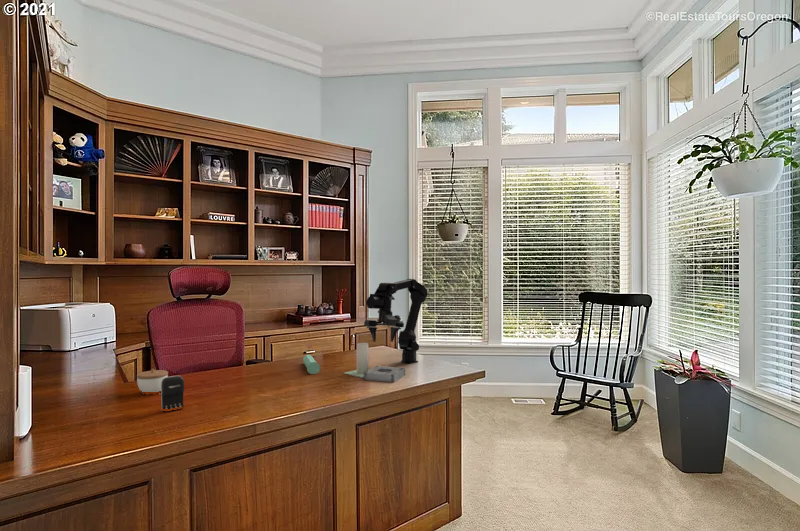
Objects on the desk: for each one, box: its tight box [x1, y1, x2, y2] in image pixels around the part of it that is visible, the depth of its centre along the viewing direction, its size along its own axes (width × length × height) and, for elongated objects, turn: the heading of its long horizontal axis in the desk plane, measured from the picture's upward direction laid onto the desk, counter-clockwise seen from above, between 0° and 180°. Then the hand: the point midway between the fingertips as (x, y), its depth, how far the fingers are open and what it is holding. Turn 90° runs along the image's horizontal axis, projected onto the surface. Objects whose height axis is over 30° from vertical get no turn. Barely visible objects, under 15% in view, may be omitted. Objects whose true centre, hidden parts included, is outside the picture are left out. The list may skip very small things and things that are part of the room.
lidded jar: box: [136, 368, 169, 393], centre depth 182 cm, size 11×11×9 cm
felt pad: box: [343, 369, 364, 379], centre depth 213 cm, size 12×12×1 cm
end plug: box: [356, 342, 370, 374], centre depth 213 cm, size 5×5×13 cm
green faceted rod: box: [302, 354, 321, 375], centre depth 225 cm, size 6×6×25 cm
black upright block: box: [160, 375, 185, 409], centre depth 160 cm, size 7×4×11 cm, turn 129°
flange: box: [363, 365, 406, 383], centre depth 206 cm, size 14×14×3 cm
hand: (383, 341), depth 223 cm, fingers open, 9 cm apart
